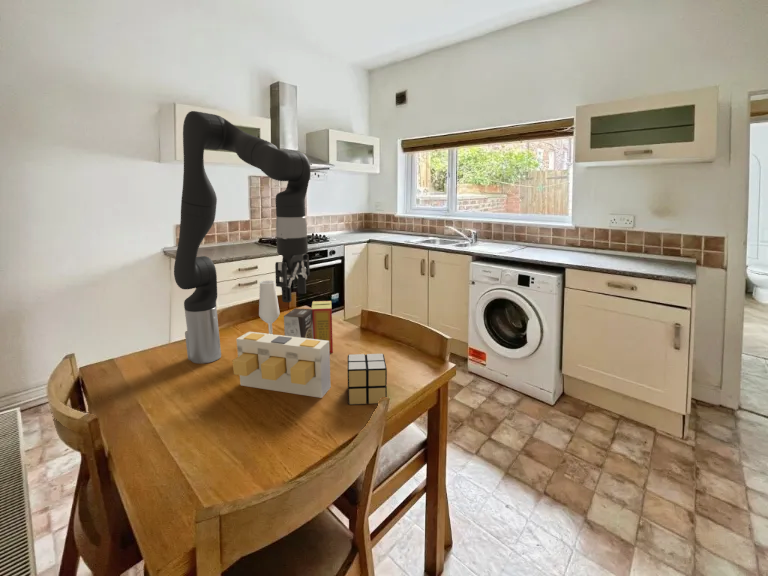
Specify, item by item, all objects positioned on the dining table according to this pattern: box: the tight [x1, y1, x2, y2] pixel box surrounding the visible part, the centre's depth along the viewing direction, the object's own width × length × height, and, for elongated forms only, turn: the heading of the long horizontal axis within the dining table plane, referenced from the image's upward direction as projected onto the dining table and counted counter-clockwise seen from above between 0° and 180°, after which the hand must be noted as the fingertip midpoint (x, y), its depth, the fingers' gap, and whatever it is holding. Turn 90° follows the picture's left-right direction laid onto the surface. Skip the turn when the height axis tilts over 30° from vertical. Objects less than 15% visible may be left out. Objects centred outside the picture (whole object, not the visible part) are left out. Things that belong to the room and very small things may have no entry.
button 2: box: [261, 356, 287, 381], centre depth 109 cm, size 4×6×4 cm
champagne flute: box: [258, 280, 280, 334], centre depth 138 cm, size 7×7×24 cm
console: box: [236, 331, 331, 399], centre depth 114 cm, size 25×6×14 cm, turn 74°
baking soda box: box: [311, 300, 334, 354], centre depth 142 cm, size 10×6×16 cm
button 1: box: [232, 352, 259, 376], centre depth 112 cm, size 4×6×4 cm
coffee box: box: [283, 307, 314, 339], centre depth 132 cm, size 9×6×16 cm
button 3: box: [290, 360, 315, 385], centre depth 107 cm, size 4×6×4 cm
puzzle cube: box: [347, 353, 388, 406], centre depth 110 cm, size 10×10×10 cm
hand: (294, 297), depth 107 cm, fingers open, 8 cm apart
